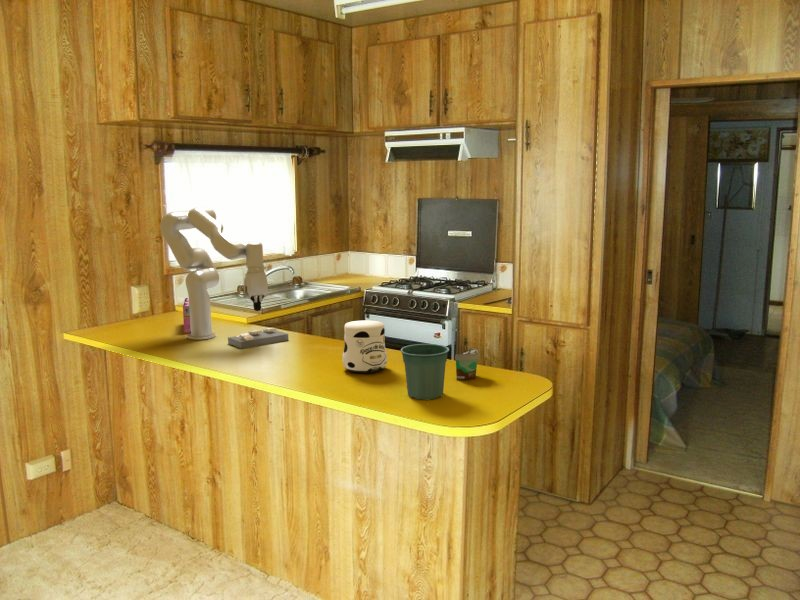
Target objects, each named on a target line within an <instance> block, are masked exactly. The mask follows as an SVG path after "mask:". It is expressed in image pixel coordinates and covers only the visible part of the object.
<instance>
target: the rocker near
mask: <svg viewBox="0 0 800 600" xmlns="http://www.w3.org/2000/svg"><path fill="white" fill-rule="evenodd" d="M239 336H240V337H241V338H242V339H244V340H246V341H248V340H253V339H254V337H252V336H251V335H249V333H248V332H245V333H239Z"/></svg>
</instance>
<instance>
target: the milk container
mask: <svg viewBox="0 0 800 600" xmlns="http://www.w3.org/2000/svg"><path fill="white" fill-rule="evenodd" d="M343 329H344V331H343V332H344V336H343V337H344V338H343V339H344V346H343V348H344V349H343V352H342V356H341V357H342V359H341V360H342V365H343V367H344V369H346V370H347V371H348V372H352V373H360V374H362V373H363V374H364V373H365V374H367V373H368V374H369V373H374V372H375V373H376V372H379V371H382V370H383V369H385V367H387V364H388V353H387V349H386V344H385V343H386V342H385V340H386V339H385V337H386V334H385V330H386V329H385V324H384V323H383V322H381V321H378V320H353V321H349V322H346V323H345V324H344V327H343Z"/></svg>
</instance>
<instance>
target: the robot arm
mask: <svg viewBox="0 0 800 600" xmlns="http://www.w3.org/2000/svg"><path fill="white" fill-rule="evenodd" d="M159 228H160V229H159V230H160V233H161V235H162V237H163V239H164V241H165V242H166V244H167V245H168V247H169V248H170V250H171V252H172V254H173V256H174V258H175V260H176V261H177V264H178V265H179V266H180V269H183V270H184V271H189V270H192V271H190V272H189V273H188V274H187V275H186V277H185V286H186V291H187V294H188V295H187V298H188V299H189V310H190V326H191V328H190V330H191V333H188V334H187V339H189V340H192V341H195V340H196V341H199V340H200V341H201V340H203V341H204V340H209V339H213V338H216V333H215V332H213V327H212V310H211V298H210V294H209V292H208V290H207V289H211V288H215V287H216V286H218V284H219V282H220V274H219V272H218V270H217V268H216V266H215V263H214V262H213V261H212V258H211V257H210V255H209V254H208V252H207V251H206V250H204V249H203V248H201V247H194V248H193V247H192V246H191V245H190V243H189V240H188V239H187V237H186V236H185V235H183V234H182V232H180V231H182V230H183V231H184V230H191V229H197V230H198V231H199V232H200V233H202V234H203V235H204V236H205V237H207V238H208V239H209V240H210V243H211V245H212V248H213V249H214V250H215V251H216V252H217V253H218V254H220V255H221V256H222V257H224V258H225V259H227V260H230V261H234V260H240V259H245V263H246V273H244V279H243V294H244V295H245V296H244V297H245V300H246V299H247V300H250V301H251V302H252V303H253V306H252V307H253V310H254V311H255V312H260V311H261V310H262V301H263V299H264V298H266V297H268V295H269V294H268V293H269V286H268V279H267V275H266V274H267V273H266V272H265V270H266V269H267V266H265V265H264V264H265V263H264V249H263V244H262V242H259V241H252V242H250V241H243V240H242V241H234V242H232V241H230V240H229V239H227V238H226V237H225V236H224V235H223V234H222V233H223V232H224V226H223V224H222V223H220V222H219V221H218V219H217V215H216V211H214V209H212V208H211V207H207V206H204V207H195V208H192V209H190V210H182V211H181V210H180V211H171V212H168V213H166V214H164V215H163V216H162V217H161V220H160V224H159Z"/></svg>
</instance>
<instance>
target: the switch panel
mask: <svg viewBox="0 0 800 600" xmlns="http://www.w3.org/2000/svg"><path fill="white" fill-rule="evenodd" d="M248 334H249V333H248ZM249 335H251V336H252V337H254V339H253V340H248V341H246V340H244V339H242V338H241V337H240V335H234V336H228V337H227V341H228V342H227V343H228V345H230V346H232V345H233V347H236V348H238V349H240V350H242V349H246V348H247V349H248V348H254V347H259V346H264V344H265V345H268V344H269V343H271V344H276V343H281V342H280V341H282V342H286V340H287V341H289V333H286V332H283V331H280V330H277V329H276V330H275V331H270V332H266V331H265V332H263V331H262V333H258V334H249ZM275 342H276V343H275ZM269 345H270V344H269Z"/></svg>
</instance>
